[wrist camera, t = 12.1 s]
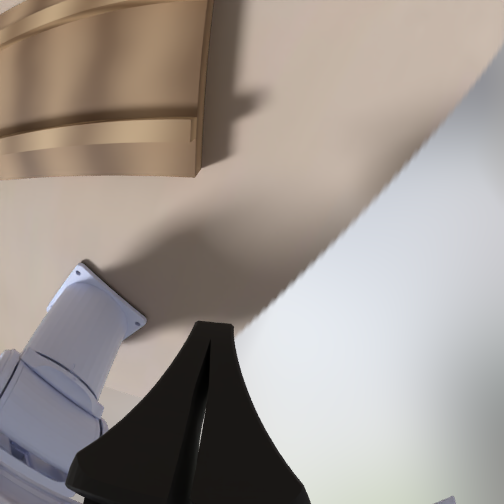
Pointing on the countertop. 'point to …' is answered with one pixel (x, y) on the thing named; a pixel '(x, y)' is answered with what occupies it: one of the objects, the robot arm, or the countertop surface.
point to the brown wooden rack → (103, 87)
